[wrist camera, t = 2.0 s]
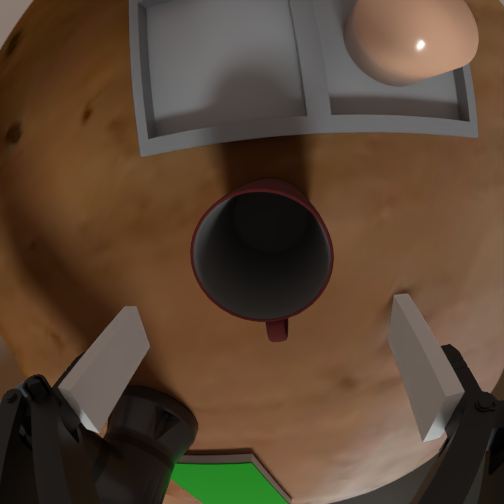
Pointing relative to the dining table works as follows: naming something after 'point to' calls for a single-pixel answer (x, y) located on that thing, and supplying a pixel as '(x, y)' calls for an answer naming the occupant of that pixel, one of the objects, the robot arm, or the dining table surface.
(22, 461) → the robot arm
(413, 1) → the peach rounded cylinder
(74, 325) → the dining table surface
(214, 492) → the book
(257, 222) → the mug
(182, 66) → the holder
